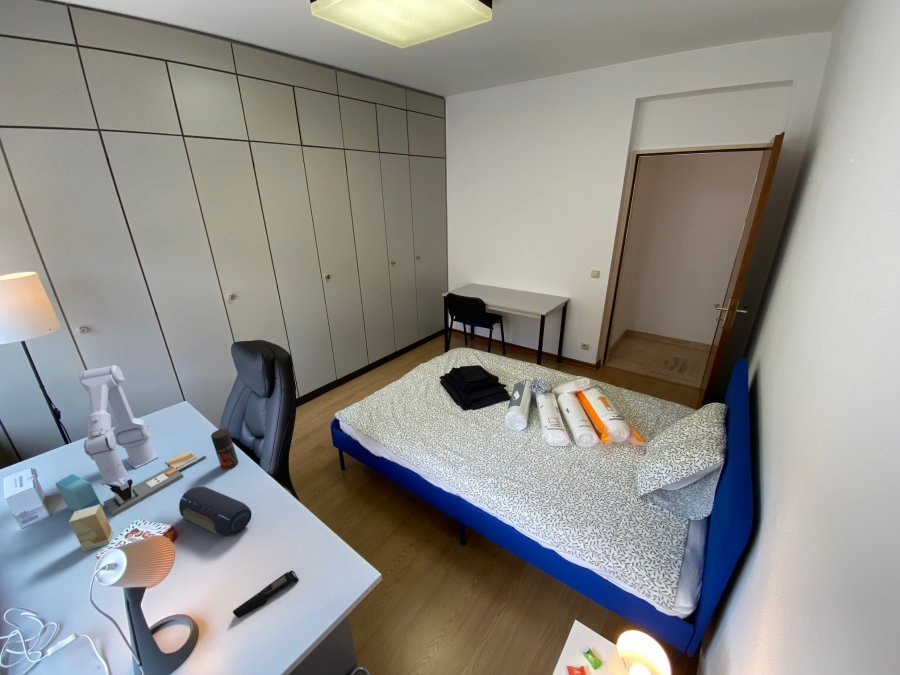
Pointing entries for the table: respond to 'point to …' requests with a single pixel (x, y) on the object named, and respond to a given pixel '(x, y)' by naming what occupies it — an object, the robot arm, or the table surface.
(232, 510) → the portable speaker
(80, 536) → the skincare box
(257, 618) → the table surface
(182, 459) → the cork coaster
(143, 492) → the power strip
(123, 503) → the charger plug
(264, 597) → the electric trimmer
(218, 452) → the deodorant
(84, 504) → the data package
